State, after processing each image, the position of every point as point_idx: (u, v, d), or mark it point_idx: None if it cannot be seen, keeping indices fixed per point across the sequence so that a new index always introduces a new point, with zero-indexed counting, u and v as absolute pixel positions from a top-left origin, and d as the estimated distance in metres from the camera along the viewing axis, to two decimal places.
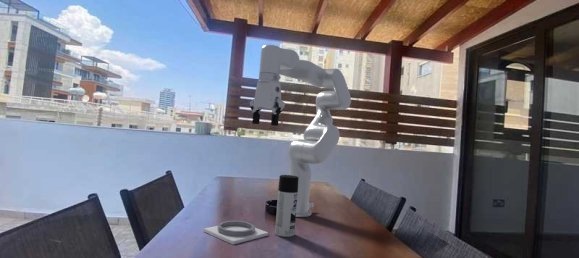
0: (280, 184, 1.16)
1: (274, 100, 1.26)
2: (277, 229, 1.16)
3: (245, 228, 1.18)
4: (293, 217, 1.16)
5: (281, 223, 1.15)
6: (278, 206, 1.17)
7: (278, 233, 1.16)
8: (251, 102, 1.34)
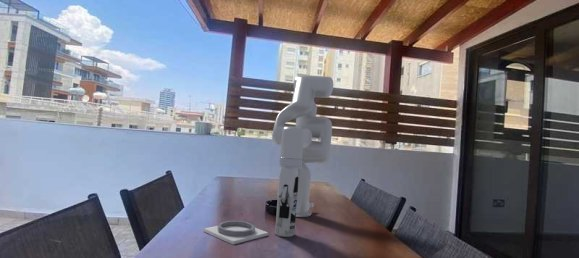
0: None
1: None
2: (277, 229, 1.16)
3: (245, 228, 1.18)
4: (293, 217, 1.16)
5: (281, 223, 1.15)
6: (278, 206, 1.17)
7: (278, 233, 1.16)
8: (285, 196, 1.11)
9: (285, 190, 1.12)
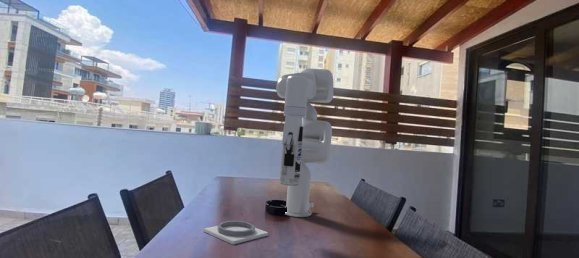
0: None
1: None
2: (282, 178, 1.17)
3: (245, 228, 1.18)
4: (298, 166, 1.17)
5: (286, 171, 1.16)
6: (283, 155, 1.17)
7: (283, 182, 1.16)
8: (290, 143, 1.12)
9: (290, 137, 1.12)
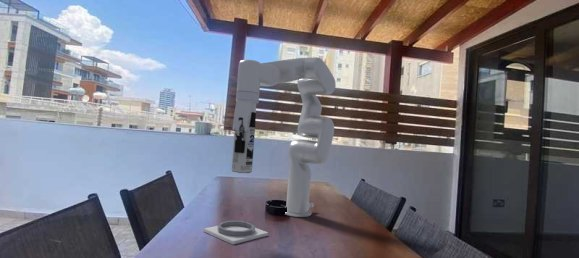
0: None
1: None
2: (233, 165, 1.13)
3: (245, 228, 1.18)
4: (249, 153, 1.13)
5: (237, 158, 1.12)
6: (234, 142, 1.13)
7: (234, 169, 1.12)
8: (239, 128, 1.08)
9: (240, 122, 1.09)
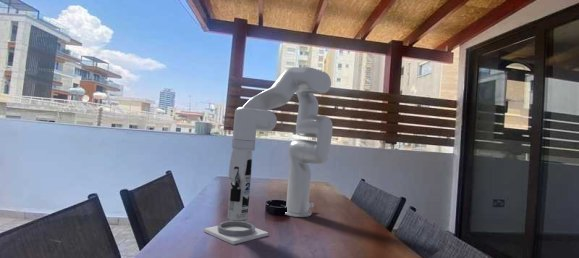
0: None
1: None
2: (229, 213, 1.13)
3: (245, 228, 1.18)
4: (245, 200, 1.13)
5: (233, 206, 1.12)
6: (230, 189, 1.13)
7: (230, 217, 1.12)
8: (235, 178, 1.08)
9: (235, 172, 1.09)
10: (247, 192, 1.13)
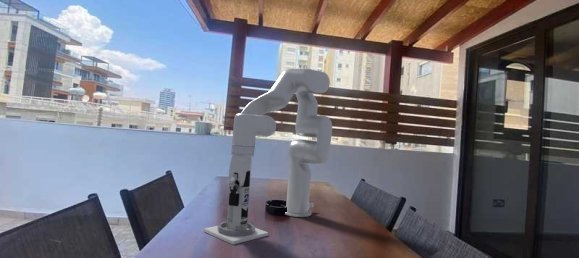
0: None
1: None
2: (228, 225, 1.13)
3: None
4: (244, 212, 1.13)
5: (232, 218, 1.12)
6: None
7: (229, 229, 1.13)
8: (234, 181, 1.07)
9: (235, 176, 1.09)
10: (246, 204, 1.13)
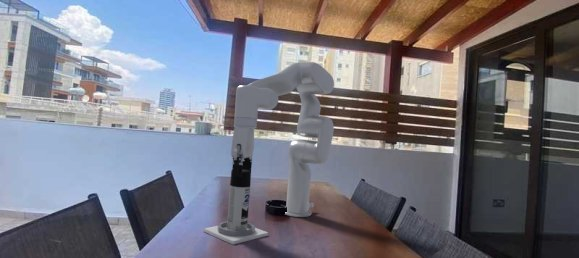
0: (231, 178, 1.13)
1: None
2: (228, 225, 1.13)
3: None
4: (244, 212, 1.13)
5: (232, 218, 1.12)
6: (229, 201, 1.13)
7: (229, 229, 1.13)
8: (237, 152, 1.08)
9: (238, 147, 1.09)
10: (246, 204, 1.13)
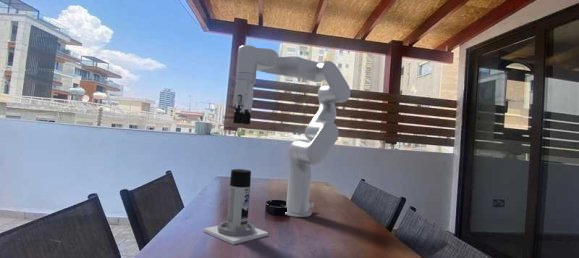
0: (231, 178, 1.13)
1: None
2: (228, 225, 1.13)
3: None
4: (244, 212, 1.13)
5: (232, 218, 1.12)
6: (229, 201, 1.13)
7: (229, 229, 1.13)
8: (238, 100, 1.25)
9: (239, 97, 1.26)
10: (246, 204, 1.13)
